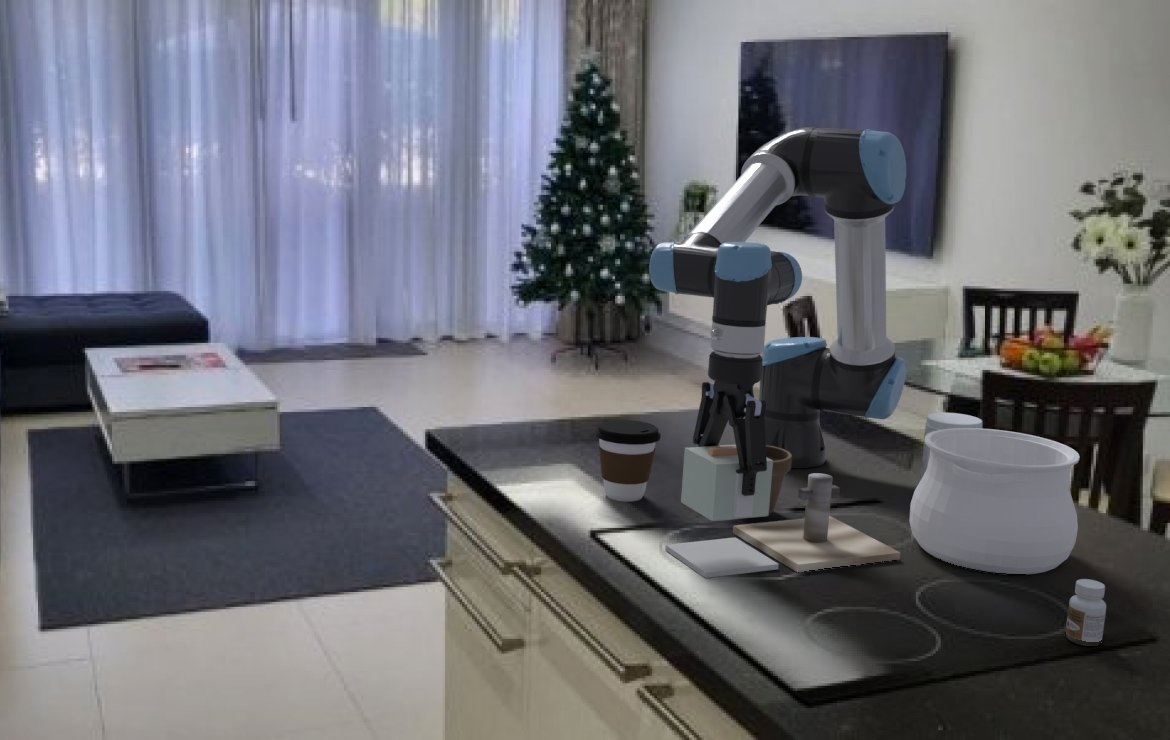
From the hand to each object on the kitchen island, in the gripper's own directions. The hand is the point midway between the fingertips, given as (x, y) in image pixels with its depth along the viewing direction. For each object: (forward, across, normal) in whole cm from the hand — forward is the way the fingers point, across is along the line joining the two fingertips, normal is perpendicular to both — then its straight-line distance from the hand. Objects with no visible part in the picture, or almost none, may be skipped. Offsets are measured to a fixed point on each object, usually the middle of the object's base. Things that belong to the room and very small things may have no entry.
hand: (724, 505), depth 185 cm
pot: (+8, +9, +42) cm, 44 cm away
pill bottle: (+8, +40, +30) cm, 51 cm away
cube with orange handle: (+1, 0, 0) cm, 1 cm away
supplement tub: (+8, -15, +54) cm, 57 cm away
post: (+8, -1, +17) cm, 19 cm away
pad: (+8, 0, 0) cm, 8 cm away
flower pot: (+8, -19, +17) cm, 27 cm away
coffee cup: (+8, -32, 0) cm, 33 cm away
